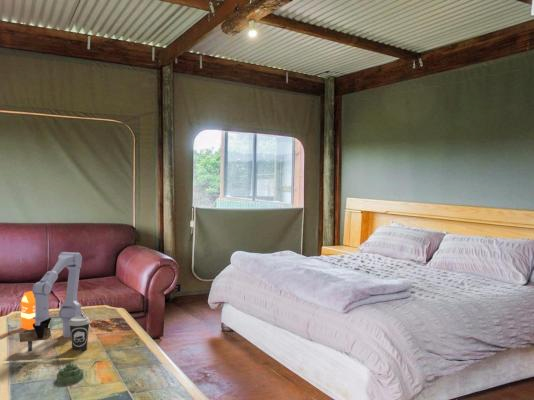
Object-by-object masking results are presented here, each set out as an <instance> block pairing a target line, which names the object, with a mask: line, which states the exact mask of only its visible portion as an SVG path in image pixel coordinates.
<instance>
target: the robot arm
mask: <svg viewBox="0 0 534 400" xmlns="http://www.w3.org/2000/svg"><path fill="white" fill-rule="evenodd" d="M82 263H83V256H82V255H81V253H80V252H70V251H68V252H67V251H62V252H60V253H59V255H58V257H57V262H56V263H55V265H54V266H53V267H52V269H51V270H48V271H46V272H45V274H44V275H43V276H42V278H41V279H40V280H39V281H36V283H34V284H33V285H32V289H31V291H32V293H33V294H34V298H35V317H33V319H35V323H34V324H33V327H34V329H35V331H36V334H37V338H38V339H41V338H43V335H44V329H45V328H49V325H50V322H51V321H52V317H50V313H49V312H50V308H49V306H50V305H49V304H50V303H49V302H50V301H49V295H50V293H51V292H52V289H53V285H54V284H55V282H56V281H57V280H58V278H59V274H60V273H61V272H62V270H63V269H64V268H66V269H67V270H68V277H67V285H66V294H65V295H66V296H65V301H63V302H62V303H61V304H60V308H59V310H58V317H59V318H60V319H61V320H60V321H61V322H62V337H64V338H71V332H70V325H69V322H70V320H71V319H72V318H74V317H80V316H82V305H81V303H80V302H78V289H79V279H80V272H81V268H82Z"/></svg>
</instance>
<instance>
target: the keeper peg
mask: <svg viewBox="0 0 534 400" xmlns="http://www.w3.org/2000/svg"><path fill="white" fill-rule="evenodd" d="M27 345H28V351H32V341H27Z"/></svg>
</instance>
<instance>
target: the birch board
mask: <svg viewBox="0 0 534 400" xmlns="http://www.w3.org/2000/svg"><path fill="white" fill-rule="evenodd" d="M58 341H59V339H47V340H38V341H32V351H28V344H26V345H25V346H24V347H23V349H21V350H20V352H19V353H18V354H17V355H16V356H17V357H19V356H21V357H22V356H38V355H40V356H41V355H42V356H43V355H47V354H48V353H49V352H50V351H51V350H52V349H53V347H54V346H55V345H56V343H57V342H58Z"/></svg>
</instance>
